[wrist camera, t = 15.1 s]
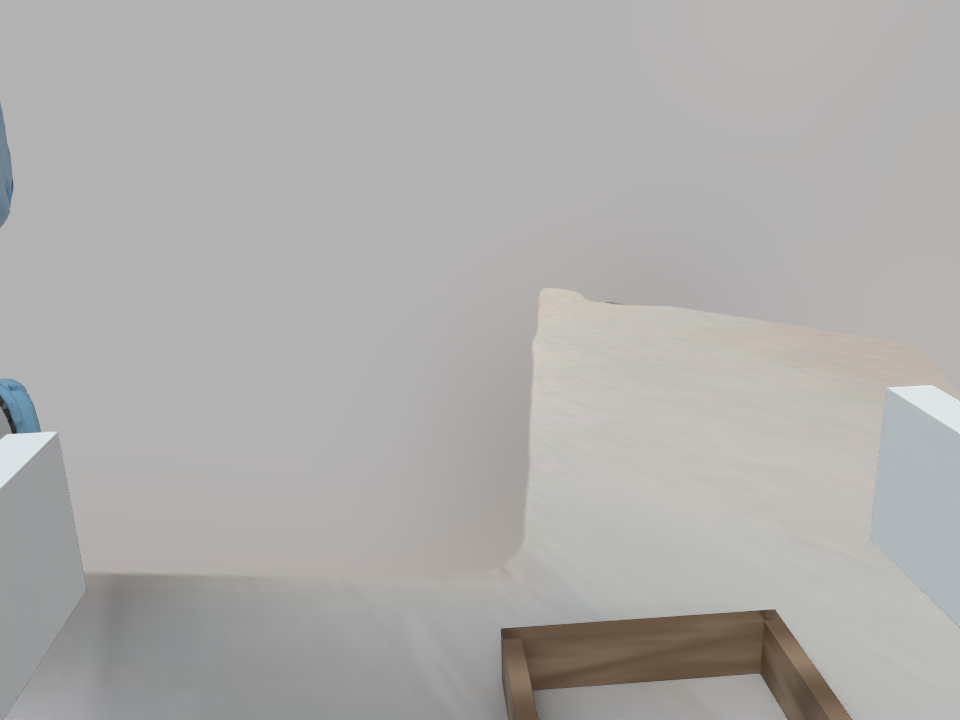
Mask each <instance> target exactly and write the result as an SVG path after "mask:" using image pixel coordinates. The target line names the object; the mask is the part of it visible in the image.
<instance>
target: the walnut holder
mask: <svg viewBox="0 0 960 720" xmlns="http://www.w3.org/2000/svg"><path fill="white" fill-rule="evenodd" d="M501 647H502V682H503V688H504V694H505V700H506V707H507V713H508V719H509V720H538V716H537V711H536V706H535V701H534V696H533V692H532V690H539V689H553V688H566V687H579V686H593V685H606V684H620V683H633V682H646V681H660V680H673V679H686V678H700V677H713V676H726V675H740V674H753V673H761V675H762V677H763V678H764V680H765V682H766V683H767V685H768V687H769V688H770V690H771V692H772V693H773V695H774V697H775V698H776V700H777V702H778V703H779V705H780V707H781V708H782V710H783V712H784V713H785V715H786V717H787V718H788V720H852V719H851V717H850V716H849V714H848V713H847V711H846V710H845V709H844V707H843V706H842V704H841V703H840V701H839V700H838V699H837V697H836V696H835V694H834V693H833V691H832V690H831V689H830V687H829V686H828V684H827V683H826V682H825V680H824V679H823V677H822V676H821V674H820V673H819V672H818V670H817V669H816V667H815V666H814V664H813V663H812V662H811V660H810V659H809V657H808V656H807V655H806V653H805V652H804V650H803V649H802V647H801V646H800V645H799V643H798V642H797V640H796V639H795V637H794V636H793V635H792V633H791V632H790V630H789V629H788V627H787V626H786V625H785V623H784V622H783V620H782V619H781V618H780V616H779V615H778V613H777V612H776V610H775V609H774V610H760V611H746V612H732V613H717V614H703V615H689V616H675V617H660V618H646V619H632V620H618V621H603V622H589V623H575V624H561V625H546V626H532V627H518V628H503V629H501Z"/></svg>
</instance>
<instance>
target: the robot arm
mask: <svg viewBox="0 0 960 720" xmlns="http://www.w3.org/2000/svg"><path fill="white" fill-rule="evenodd" d="M12 192H13V179H12V167H11V159H10V152H9V149H8V145H7V139H6V132H5V125H4V118H3V113H2V109H1V105H0V227H1V226H2V225H3V224H4V222H5V221H6V219H7V217H8V215H9V213H10V209H9V208H10V204H11V197H12ZM869 539H870V540H871V541H872V542H873V543H874V544H875V545H876V546H877V547H878V548H879V549H880V550H881V551H882V552H883V553H884V554H885V555H886V556H887V557H888V558H889V559H890V560H891V561H892V562H893V563H894V564H895V565H896V566H897V567H898V568H899V569H900V570H901V571H902V572H903V573H904V574H905V575H906V576H907V577H908V578H909V579H910V580H911V581H912V582H913V583H914V584H915V585H917V586H918V587H919V588H920V589H921V590H922V591H923V592H924V593H925V594H926V595H927V596H928V597H929V598H930V599H931V600H932V601H933V602H934V603H935V604H936V605H937V606H938V607H939V608H940V609H941V610H942V611H943V612H944V613H945V614H946V615H947V616H948V617H949V618H950V619H951V620H952V621H953V622H954V623H955V624H956V625H957V626H958V627H959V628H960V401H959V400H957V399H955V398H953V397H952V396H950V395H948V394H946V393H945V392H943V391H941V390H939V389H938V388H936V387H934V386H932V385H926V386H907V387H888V388H886V397H885V406H884V415H883V424H882V432H881V441H880V450H879V459H878V467H877V476H876V485H875V494H874V502H873V511H872V520H871V529H870V538H869ZM86 590H87V589H86V583H85V578H84V572H83V567H82V561H81V556H80V550H79V545H78V539H77V534H76V528H75V522H74V517H73V511H72V506H71V500H70V495H69V489H68V484H67V478H66V472H65V467H64V461H63V456H62V451H61V445H60V440H59V434H58V432H41V430H40V425H39V421H38V418H37V414H36V411H35V408H34V405H33V403H32V401H31V399H30V397H29V395H28V394H27V391H26V389H25V387H24V386H23V385H22V384H20V383H19V382H17V381H15V380H12V379H0V720H4V719H5V717H6V716H7V714H8V712H9V711H10V709H11V708H12V706H13V705H14V703H15V701H16V700H17V698H18V697H19V695H20V694H21V692H22V690H23V689H24V687H25V686H26V684H27V683H28V681H29V679H30V678H31V676H32V675H33V673H34V672H35V670H36V668H37V667H38V665H39V664H40V662H41V661H42V659H43V657H44V656H45V654H46V653H47V651H48V650H49V648H50V646H51V645H52V643H53V642H54V640H55V639H56V637H57V635H58V634H59V632H60V631H61V629H62V628H63V626H64V624H65V623H66V621H67V620H68V618H69V617H70V615H71V613H72V612H73V610H74V609H75V607H76V606H77V604H78V602H79V601H80V599H81V598H82V596H83V595H84V593H85V591H86Z"/></svg>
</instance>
